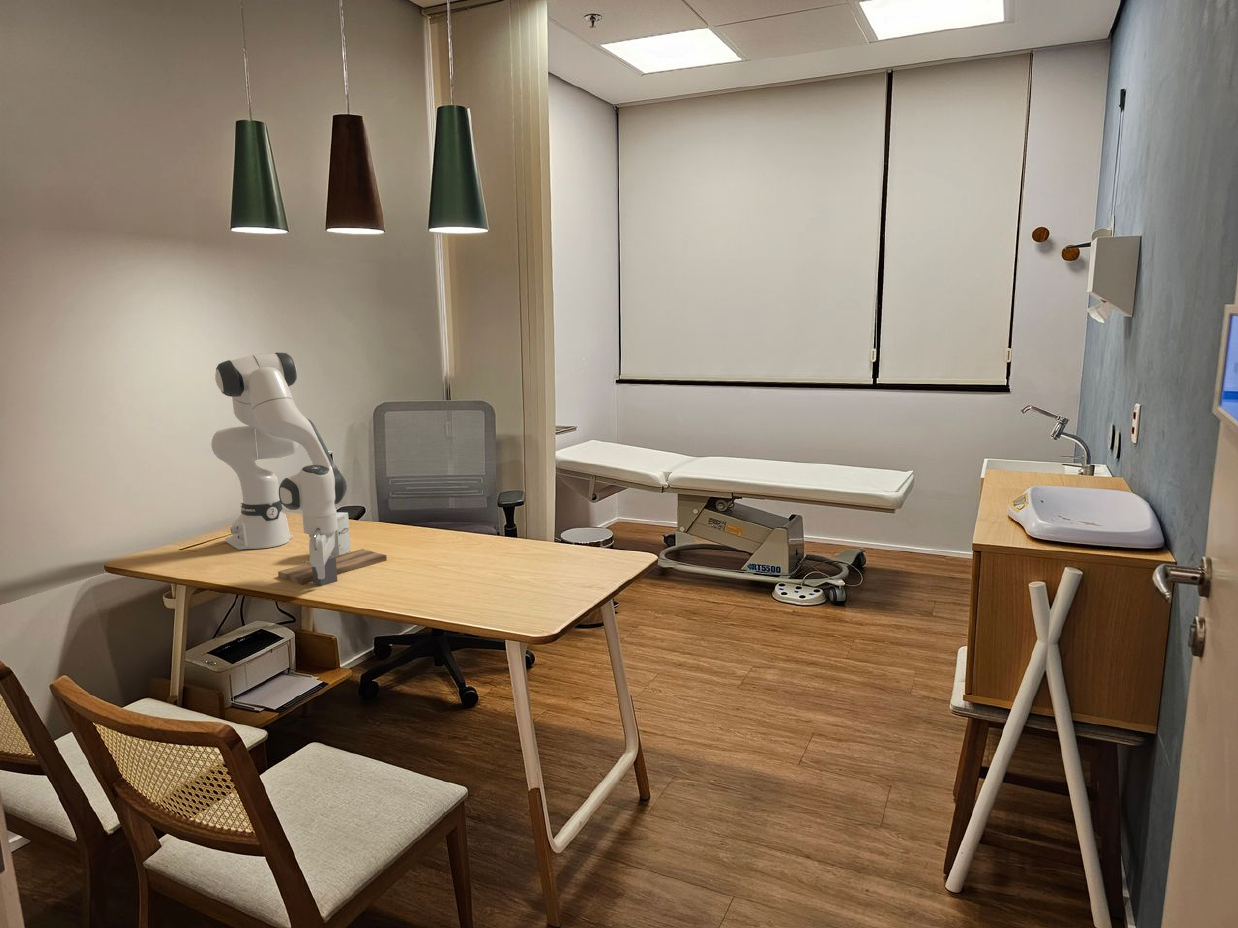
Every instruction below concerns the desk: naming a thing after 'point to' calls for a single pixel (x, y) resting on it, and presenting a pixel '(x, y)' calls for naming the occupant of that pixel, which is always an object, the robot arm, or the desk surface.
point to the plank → (342, 565)
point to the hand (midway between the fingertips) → (324, 573)
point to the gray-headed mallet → (329, 572)
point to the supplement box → (342, 535)
